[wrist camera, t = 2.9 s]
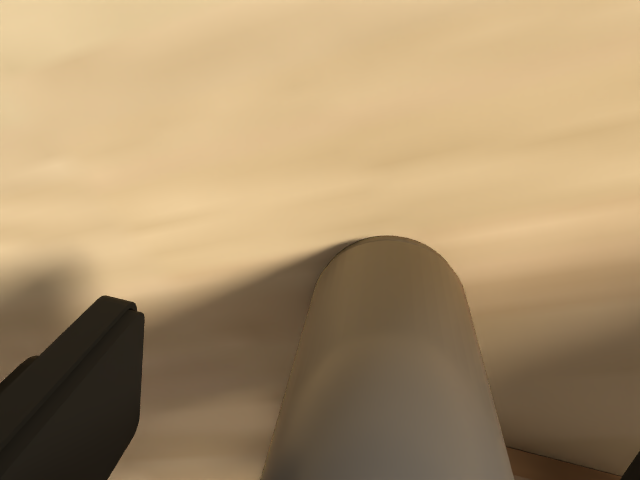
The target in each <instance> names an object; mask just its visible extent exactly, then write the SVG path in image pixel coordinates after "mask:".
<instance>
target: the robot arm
mask: <svg viewBox="0 0 640 480" xmlns="http://www.w3.org/2000/svg"><path fill="white" fill-rule="evenodd" d="M143 339H144V314H143V313H141V312H137V307H136V304H135V303H134V302H130V301H126V300H122V299H118V298H114V297H110V296H106V295H105V296H101V297H100V298H99V299H97V300H96V301H95V302H94V303H93V304H92V305H91V306H90V307H89V308H88V309H87V310H86V311H85V312H84V313H83V314H82V315H81V316H80V317H79V318H78V319H77V320H76V321H75V322H74V323H73V324H72V325H71V326H70V327H68V328H67V329H66V330H65V331H64V332H63V333H62V334H61V335H60V336H59V337H58V338H57V339H56V340H55V341H54V342H53V343H52V344H51V345H50V346H49V347H48V348H47V349H46V350H45V351H44V352H43V353H42V354H41V355H40V356H37V355H36V356H33V357H30V358H28V359H27V360H25V361H24V362H23V363H21V364H20V365H19V366H18V367H17V368H16V369H15V370H14V371H13V372H12V373H11V374H10V375H9V376H8V377H6V378H5V379H4V380H3V381H2V382H1V383H0V480H107V479H108V478H109V476H110V474H111V473H112V471H113V469H114V468H115V466H116V464H117V463H118V461H119V460H120V458H121V456H122V455H123V453H124V451H125V450H126V448H127V446H128V445H129V443H130V441H131V440H132V438H133V436H134V434H135V432H136V429H137V426H138V422H139V416H140V397H141V378H142V358H143ZM620 480H640V451H639V453H638V454H637V456H636V457H635V459H634V460H633V462H632V463H631V464H630V466H629V467H628V469H627V470H626V472H625V473H624V475H623V476H622V478H621V479H620Z"/></svg>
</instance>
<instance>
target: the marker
mask: <svg viewBox="0 0 640 480" xmlns="http://www.w3.org/2000/svg"><path fill="white" fill-rule="evenodd" d="M260 480H514V476H513V473H512V469H511V465H510V461H509V457H508V454H507V450H506V446H505V442H504V439H503V435H502V431H501V427H500V423H499V420H498V416H497V412H496V408H495V405H494V401H493V397H492V393H491V389H490V386H489V382H488V378H487V374H486V371H485V367H484V363H483V359H482V355H481V352H480V348H479V344H478V340H477V337H476V333H475V329H474V325H473V321H472V318H471V314H470V310H469V306H468V303H467V299H466V295H465V292H464V289H463V286H462V284H461V282H460V280H459V278H458V276H457V275H456V273H455V272H454V271H453V269H452V268H451V267H450V266H449V264H448V263H447V262H446V260H445V259H444V258H443V257H442V256H441V255H439V254H438V253H437V252H436V251H434V250H433V249H431V248H430V247H428V246H426V245H425V244H422V243H420V242H418V241H415V240H412V239H409V238H404V237H398V236H377V237H372V238H367V239H364V240H361V241H358V242H356V243H354V244H352V245H350V246H348V247H346V248H345V249H343V250H342V251H341V252H340V253H338V254H337V255H336V256H335V257H334V258H333V259H332V260H331V262H330V263H329V264H328V266H327V267H326V268H325V269H324V271H323V272H322V274H321V275H320V277H319V279H318V281H317V283H316V286H315V289H314V292H313V296H312V300H311V303H310V307H309V310H308V314H307V317H306V321H305V324H304V328H303V331H302V335H301V338H300V342H299V345H298V349H297V352H296V356H295V360H294V363H293V367H292V370H291V374H290V377H289V381H288V384H287V388H286V391H285V395H284V398H283V402H282V405H281V409H280V412H279V416H278V419H277V423H276V427H275V430H274V434H273V437H272V441H271V444H270V448H269V451H268V455H267V458H266V462H265V465H264V469H263V472H262V476H261V479H260Z"/></svg>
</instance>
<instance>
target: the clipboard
mask: <svg viewBox="0 0 640 480" xmlns="http://www.w3.org/2000/svg"><path fill="white" fill-rule="evenodd" d="M506 450H507V454H508V457H509V461H510V465H511V469H512V473H513V476H514V480H620V479H621V478H622V477H621V476H618V475H614V474H610V473H606V472H602V471H598V470H594V469H590V468H586V467H582V466H578V465H575V464H571V463H567V462H563V461H559V460H555V459H551V458H547V457H543V456H539V455H536V454H532V453H528V452H524V451H520V450H516V449H512V448H508V447H506Z"/></svg>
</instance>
